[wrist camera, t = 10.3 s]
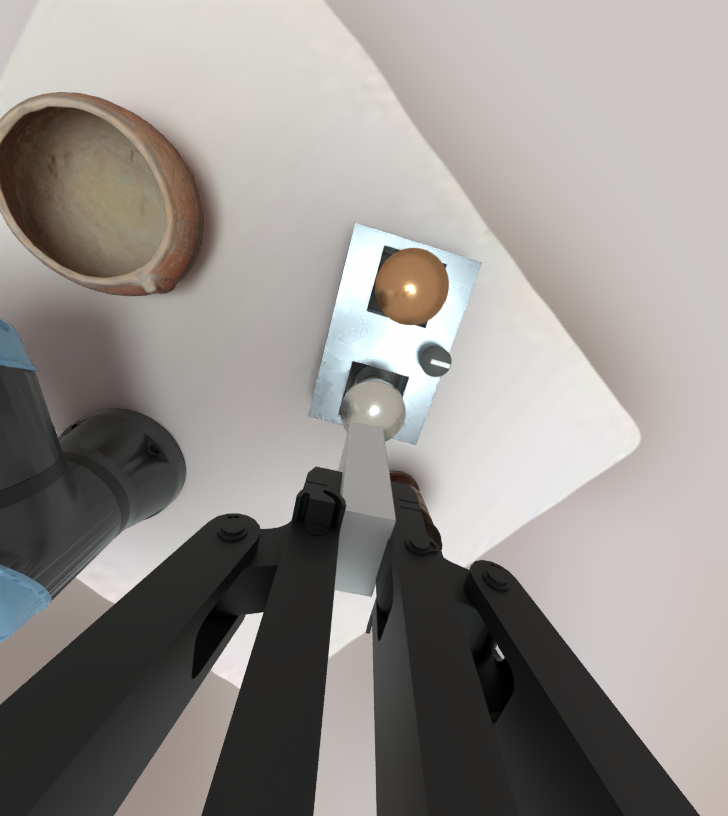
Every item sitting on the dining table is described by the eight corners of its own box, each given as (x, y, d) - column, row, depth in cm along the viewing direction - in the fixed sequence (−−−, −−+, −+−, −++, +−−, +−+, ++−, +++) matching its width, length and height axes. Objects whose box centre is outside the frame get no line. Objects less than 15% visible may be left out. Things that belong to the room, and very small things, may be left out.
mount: (316, 399, 43) (308, 415, 37) (357, 233, 37) (355, 223, 31) (410, 424, 43) (415, 444, 38) (465, 266, 37) (482, 262, 32)
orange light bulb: (368, 308, 38) (366, 314, 28) (383, 251, 36) (387, 237, 26) (418, 322, 38) (434, 334, 28) (436, 268, 36) (459, 260, 27)
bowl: (199, 317, 40) (145, 326, 30) (61, 260, 38) (-42, 250, 29) (237, 170, 35) (187, 126, 26) (81, 97, 33) (-35, 20, 24)
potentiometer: (413, 366, 35) (417, 373, 32) (422, 339, 34) (427, 343, 31) (440, 374, 35) (445, 381, 33) (450, 347, 34) (456, 352, 32)
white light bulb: (342, 400, 41) (333, 434, 32) (355, 353, 39) (350, 374, 30) (389, 413, 42) (394, 450, 32) (404, 367, 40) (414, 392, 30)
